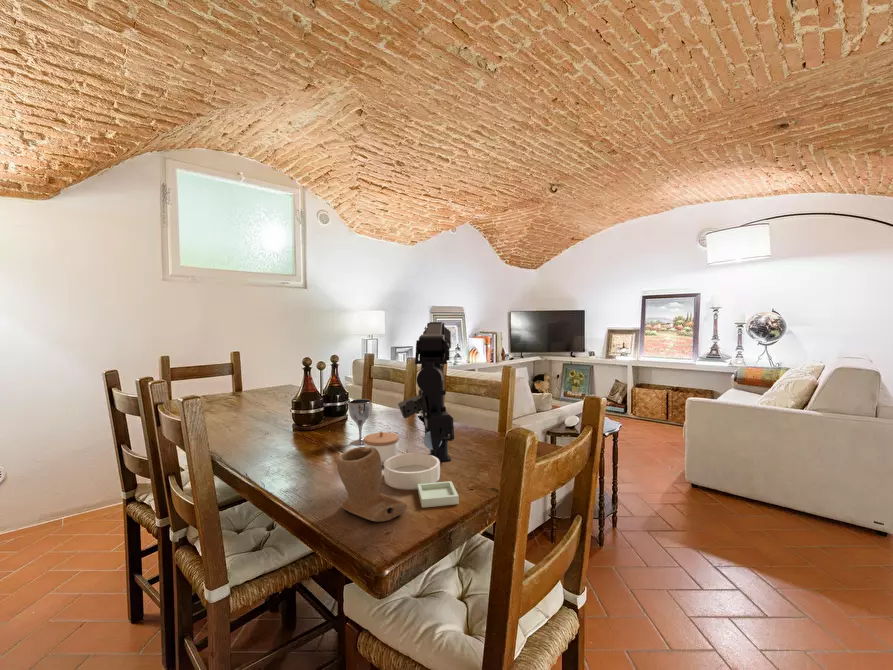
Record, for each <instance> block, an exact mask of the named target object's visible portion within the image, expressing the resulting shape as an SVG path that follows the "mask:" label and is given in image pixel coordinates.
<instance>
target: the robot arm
mask: <svg viewBox="0 0 893 670" xmlns="http://www.w3.org/2000/svg"><path fill="white" fill-rule="evenodd" d="M451 332H452V331H451V330H449V329H448V328H447V327H446V326H445V323H444V322H442V321H430V322H427V325H426V328H425V330H424V331H423V332H422V333H423V334H420V336H419V337H418V339H417V340H416V342H415V358H414V365H421V367H420V370H419V372H418V374H417V376H416V384H417V386H418V388H419V390H418V392H417V393H418V394H417V395H415V396H412V397H409V398H408V399H407V398H406V399H405V400H402V401H400V402H398V403H397V405H398V407H399V411H400V413H401V416H402V417H403V419H408V418H410V417H411V416H413V415H415V414H417V418H418V420H420V421H421V423H423V426H424V435H425V434H426V433H427V432H430V437H431V443H432V448H433V449H429V453H428V454H429V455H433V456H435V457H436V458H438V459H439V461H440V462H449V461H452V458H451V456H450V455H449V442H452V441H453V440H455V426H454V417H453V416H451V414H449V412H448V410H447V407H446V406H445V405H446V404H445V401H446V400H445V396H446V395H447V391H446V390H445V365H447V364H448V361H450V349H451V348H452V337H451V336H452V334H451ZM419 413H420V415H418V414H419ZM441 441H442V443H441ZM440 443H441V445H440ZM439 445H440V446H439Z"/></svg>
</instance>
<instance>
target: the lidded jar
mask: <svg viewBox="0 0 893 670" xmlns="http://www.w3.org/2000/svg"><path fill="white" fill-rule="evenodd" d="M363 439H364V445H363V447H367V448H370V447H374V448H375V449H376V450H377V451H378V452H379V454H380V458H381V466H384V462H385V461H386V460H387V459H388V458H391V457H393V456H396V455H398V451H399V440H400V438H399V435H398V434H396V433H393V432H385V431H379V432H375V433H369V434H367V435H366V436H364V438H363Z"/></svg>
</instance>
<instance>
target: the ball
mask: <svg viewBox="0 0 893 670" xmlns="http://www.w3.org/2000/svg"><path fill="white" fill-rule="evenodd" d="M441 443H442V441H441ZM441 443H440V445H441ZM423 444H424V446H425V447H426V448H427V449H429V450H430V449H433V448H432V443H431V437H430V432H427V433H426V434H425V433H424V436H423ZM440 445H439V446H440Z"/></svg>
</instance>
